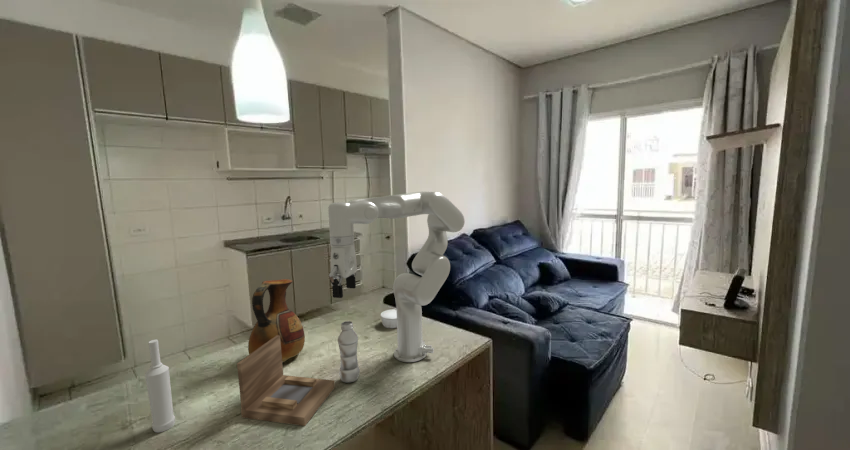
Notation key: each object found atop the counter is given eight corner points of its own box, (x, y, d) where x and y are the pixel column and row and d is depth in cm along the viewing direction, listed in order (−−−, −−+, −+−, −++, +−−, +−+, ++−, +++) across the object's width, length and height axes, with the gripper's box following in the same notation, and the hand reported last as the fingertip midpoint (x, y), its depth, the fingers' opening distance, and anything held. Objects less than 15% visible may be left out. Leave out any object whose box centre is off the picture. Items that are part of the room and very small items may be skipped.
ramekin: (404, 329, 155) (404, 318, 155) (379, 330, 155) (379, 318, 155) (405, 319, 166) (405, 308, 166) (382, 320, 166) (381, 309, 166)
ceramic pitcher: (315, 347, 140) (310, 275, 136) (282, 374, 121) (275, 291, 117) (275, 342, 146) (269, 273, 142) (237, 367, 126) (229, 288, 123)
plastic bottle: (339, 376, 118) (335, 321, 116) (359, 372, 120) (356, 318, 118) (340, 387, 112) (336, 328, 110) (361, 383, 114) (358, 325, 112)
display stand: (334, 387, 112) (332, 339, 110) (305, 426, 95) (300, 369, 93) (280, 381, 116) (276, 335, 114) (241, 417, 99) (236, 363, 97)
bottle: (180, 419, 99) (169, 336, 95) (167, 432, 94) (155, 345, 90) (161, 420, 98) (150, 337, 95) (147, 433, 93) (135, 346, 90)
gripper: (340, 246, 101) (343, 302, 104) (363, 236, 118) (365, 285, 120) (317, 245, 103) (320, 300, 105) (343, 236, 120) (345, 284, 122)
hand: (344, 292), depth 113 cm, fingers open, 9 cm apart
